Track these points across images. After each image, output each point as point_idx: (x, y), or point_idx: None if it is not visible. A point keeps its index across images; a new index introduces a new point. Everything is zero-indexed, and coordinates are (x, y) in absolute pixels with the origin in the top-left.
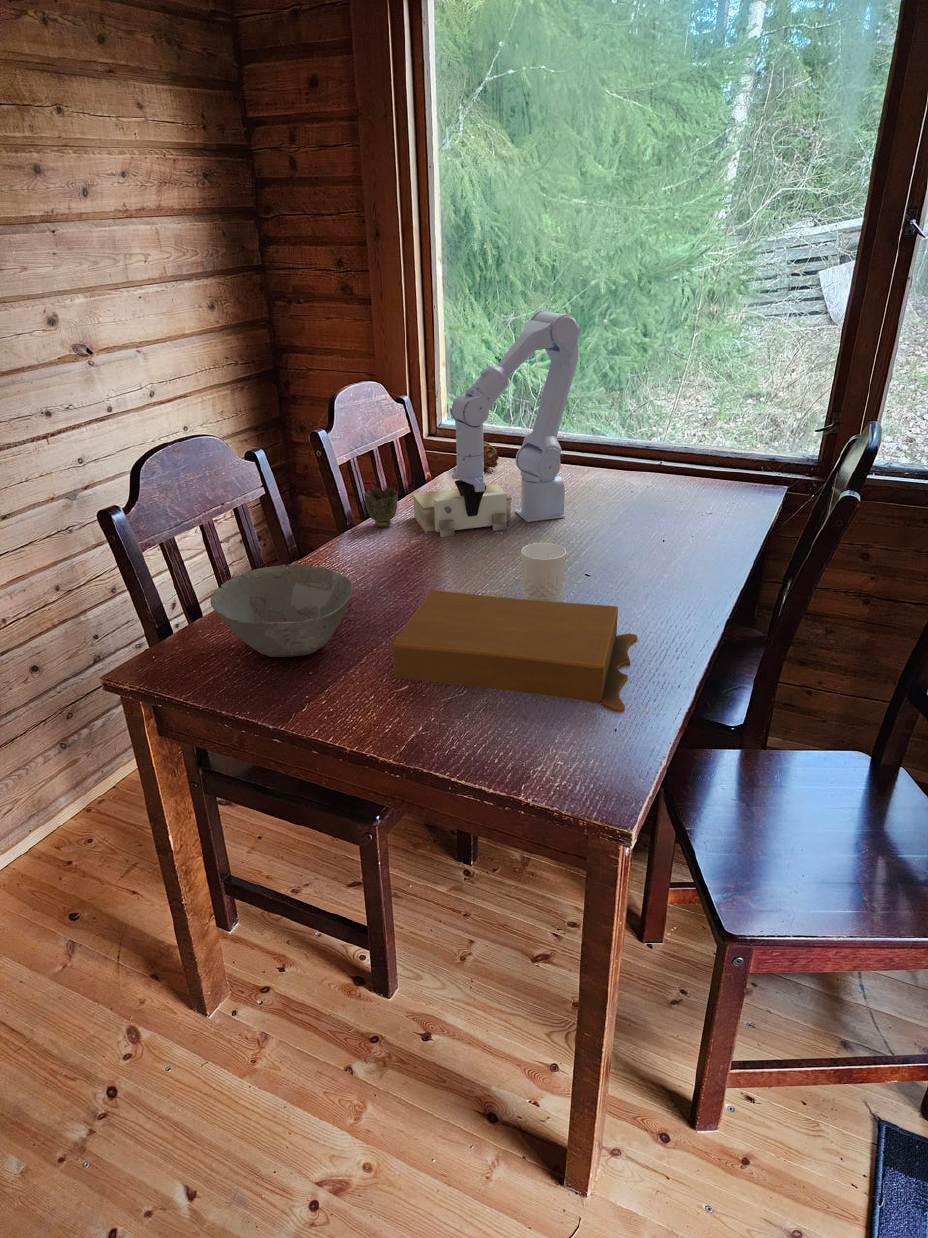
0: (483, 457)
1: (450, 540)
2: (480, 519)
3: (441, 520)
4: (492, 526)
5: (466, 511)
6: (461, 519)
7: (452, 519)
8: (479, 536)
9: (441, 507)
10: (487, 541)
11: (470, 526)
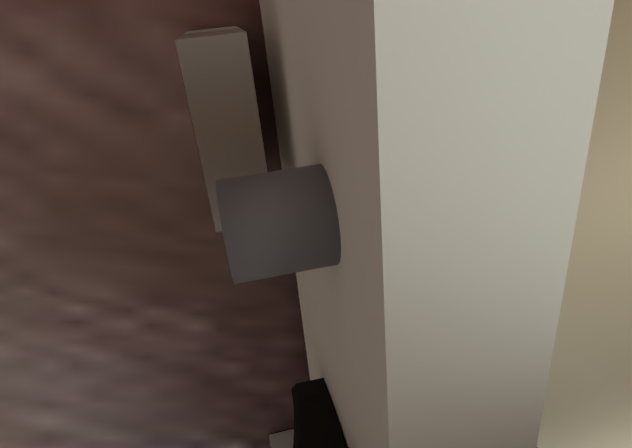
0: None
1: (90, 115)
2: None
3: (245, 63)
4: None
5: (329, 407)
6: (310, 299)
7: None
8: (171, 351)
9: (324, 110)
10: (51, 398)
11: (303, 323)
